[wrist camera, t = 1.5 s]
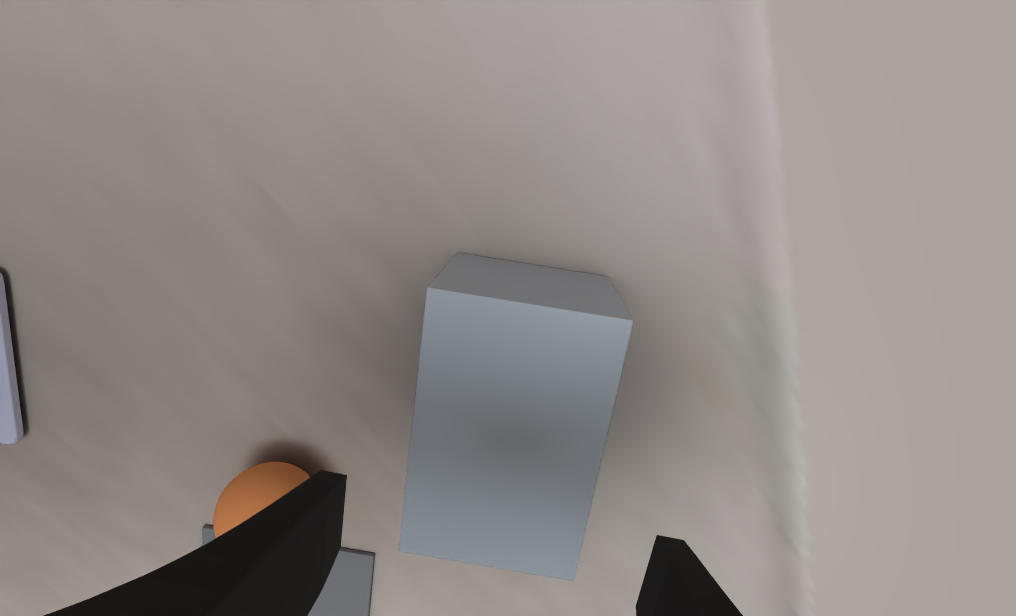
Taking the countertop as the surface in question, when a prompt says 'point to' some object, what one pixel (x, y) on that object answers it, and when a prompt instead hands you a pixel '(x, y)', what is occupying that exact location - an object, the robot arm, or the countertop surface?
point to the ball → (254, 493)
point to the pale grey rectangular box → (511, 413)
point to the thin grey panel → (338, 582)
